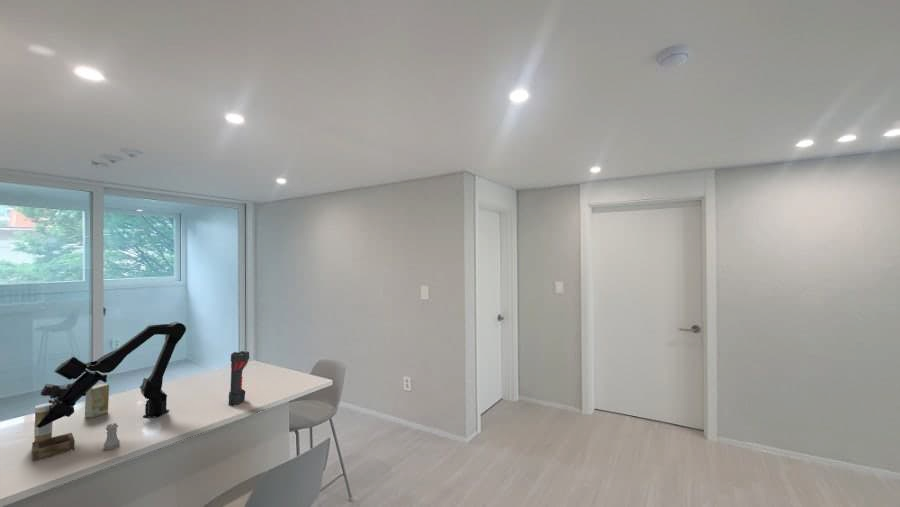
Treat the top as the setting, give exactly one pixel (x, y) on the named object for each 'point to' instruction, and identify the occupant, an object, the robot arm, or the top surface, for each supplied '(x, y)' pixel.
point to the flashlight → (237, 376)
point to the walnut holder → (53, 446)
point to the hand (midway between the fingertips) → (37, 425)
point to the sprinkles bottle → (40, 413)
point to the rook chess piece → (111, 437)
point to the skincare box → (97, 400)
